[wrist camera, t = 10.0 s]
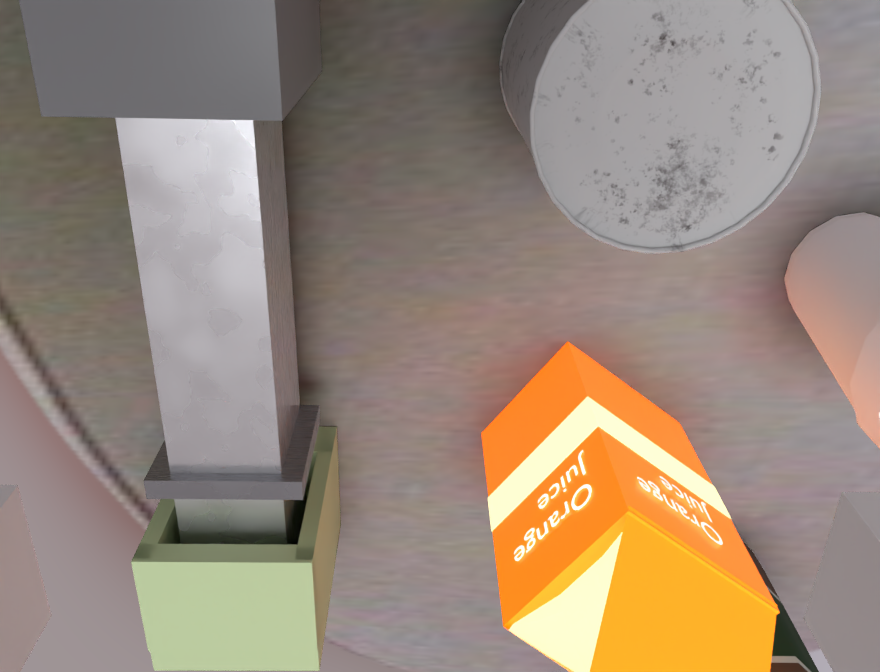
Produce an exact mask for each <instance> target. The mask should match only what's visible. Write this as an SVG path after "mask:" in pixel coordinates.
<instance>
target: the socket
mask: <svg viewBox="0 0 880 672" xmlns="http://www.w3.org/2000/svg"><path fill="white" fill-rule="evenodd" d="M305 491H306V508H305V513H304V517H303V522H302V527H301V532H300V536H299V541H298V545H282V544H181V540H180V533H179V527H178V520H177V514H176V507H175V501H174V499H161V500H160V502H159V504H158V506H157V509H156V511H155V513H154V515H153V517H152V519H151V521H150V523H149V525H148V528H147V530H146V532H145V534H144V536H143V538H142V540H141V543H140V544H139V546H138V549H137V551H136V553H135V555H134V557H133V559H132V561H131V563H132V569H133V574H134V579H135V584H136V589H137V594H138V600H139V605H140V610H141V616H142V620H143V626H144V631H145V636H146V642H147V647H148V651H150V652H151V658H152V663H153V668H154V670H167V671H168V670H169V671H172V670H178V671H181V670H182V671H185V670H187V671H190V670H191V671H194V670H195V671H206V670H207V671H319V670H320V663H321V656H322V649H323V642H324V636H325V629H326V622H327V615H328V608H329V601H330V594H331V588H332V581H333V574H334V567H335V560H336V553H337V546H338V539H339V533H340V526H341V517H340V493H339V469H338V444H337V427H319V429H318V433H317V438H316V443H315V447H314V452H313V456H312V461H311V465H310V470H309V474H308V479H307V483H306V488H305Z"/></svg>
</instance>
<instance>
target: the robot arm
mask: <svg viewBox="0 0 880 672" xmlns="http://www.w3.org/2000/svg"><path fill="white" fill-rule="evenodd" d="M50 617H51V612H50V608H49V604H48V600H47V596H46V592H45V589H44V585H43V581H42V577H41V573H40V569H39V565H38V562H37V557H36V554H35V550H34V546H33V542H32V538H31V534H30V530H29V527H28V523H27V519H26V515H25V511H24V507H23V503H22V499H21V496H20V492H19V488H18V485H0V672H20V671H21V669H22V667H23V666H24V664H25V662H26V660H27V659H28V657H29V655H30V653H31V651H32V650H33V648H34V646H35V644H36V642H37V641H38V639H39V637H40V635H41V633H42V632H43V630H44V628H45V626H46V624H47V623H48V621H49V619H50ZM804 620H805V622H806V624H807V625H808V627H809V629H810V631H811V632H812V634H813V636H814V638H815V640H816V641H817V643H818V645H819V647H820V649H821V650H822V652H823V654H824V656H825V658H826V659H827V661H828V663H829V665H830V666H831V668H832V670H833V672H880V492H842V493H841V497H840V500H839V503H838V506H837V510H836V513H835V516H834V520H833V523H832V526H831V530H830V533H829V536H828V540H827V543H826V546H825V550H824V553H823V556H822V560H821V563H820V566H819V570H818V573H817V576H816V580H815V583H814V586H813V590H812V593H811V596H810V600H809V603H808V606H807V610H806V613H805V616H804Z"/></svg>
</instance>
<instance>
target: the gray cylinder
mask: <svg viewBox="0 0 880 672" xmlns="http://www.w3.org/2000/svg"><path fill="white" fill-rule="evenodd" d="M499 69H500V87H501V91H502V95H503V98H504V102H505V106H506V109H507V111H508V113H509V115H510V117H511V119H512V120H513V122H514V124H515V126H516V128H517V129H518V131H519V132H520V133H521V135H522V137H523V139H524V141H525V143H526V145H527V147H528V149H529V151H530V153H531V155H532V157H533V159H534V162H535V166H536V169H537V173H538V176H539V178H540V180H541V181H542V183H543V185H544V187H545V189H546V191H547V193H548V195H549V196H550V198H551V200H552V202H553V203H554V204H555V205H556V206H557V208H558V209H559V210H560V211H561V212H562V213H563V214H564V215H565V216H566V218H567V219H568V220H569V221H570V222H571V223H572V224H573V225H575V226H576V227H578V228H579V229H581V230H582V231H584V232H585V233H587V234H588V235H589V236H591V237H592V238H594V239H595V240H598V241H600V242H603V243H606V244H608V245H611V246H613V247H616V248H619V249H621V250H626V251H633V252H641V253H648V254H659V253H672V252H683V251H687V250H690V249H694V248H697V247H701V246H704V245H708V244H711V243H714V242H716V241H718V240H719V239H721V238H723V237H725V236H727V235H729V234H731V233H733V232H735V231H737V230H739V229H741V228H742V227H744V226H745V225H746V224H747V223H749V222H750V221H751V220H752V219H754V218H755V217H756V216H758V215H759V214H760V213H761V212H763V211H764V210H765V209H767V208H768V206H769V205H770V204H771V203H772V202H773V201H774V200H775V198H776V197H777V196H778V195H779V194H780V193H781V192H782V191H783V189H784V188H785V187H786V186H787V185H788V184H789V182H790V181H791V179H792V177H793V175H794V174H795V172H796V170H797V169H798V167H799V165H800V164H801V162H802V160H803V159H804V157H805V155H806V153H807V150H808V147H809V144H810V141H811V139H812V136H813V133H814V130H815V127H816V124H817V120H818V112H819V104H820V97H821V80H820V69H819V58H818V54H817V51H816V48H815V45H814V42H813V39H812V37H811V34H810V31H809V28H808V25H807V24H806V22H805V21H804V19H803V18H802V16H801V15H800V13H799V12H798V10H797V9H796V7H795V6H794V4H793V3H792V1H791V0H522V2H521V3H520V5H519V6H518V8H517V9H516V11H515V12H514V14H513V15H512V18H511V20H510V23H509V25H508V28H507V30H506V33H505V35H504V38H503V43H502V49H501V55H500V61H499Z"/></svg>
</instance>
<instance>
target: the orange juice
mask: <svg viewBox="0 0 880 672" xmlns="http://www.w3.org/2000/svg"><path fill="white" fill-rule="evenodd" d="M481 435H482V444H483V453H484V461H485V470H486V479H487V487H488V496H489V497H488V506H489V515H490V524H491V531H492V532H493V540H494V549H495V557H496V566H497V575H498V583H499V592H500V601H501V610H502V618H503V626H504V628H505V627H506V628H508V629H509V631H510V632H512V633H513V634H515V635H516V636H518V637H519V638H521V639H522V640H523V641H525V642H526V643H528V644H529V645H531V646H532V647H534V648H535V649H537V650H538V651H540V652H541V653H543V654H544V655H546V656H547V657H549V658H550V659H552V660H553V661H555V662H556V663H558V664H559V665H561V666H562V667H564V668H565V669H567V670H568V671H570V672H770V667H771V658H772V649H773V640H774V631H775V622H776V615H777V614H778V613H780V612H779V610H778V608H777V604H775V602H774V600H773V598H772V596H771V595H770V593H769V591H768V589H767V587H766V585H765V583H764V581H763V579H762V578H761V576H760V574H759V572H758V570H757V568H756V566H755V564H754V562H753V561H752V559H751V557H750V555H749V553H748V551H747V549H746V547H745V545H744V544H743V542H742V540H741V538H740V536H739V534H738V532H737V530H736V529H735V527H734V525H733V523H732V521H731V517H730V515H729V513H728V511H727V509H726V507H725V506H724V504H723V502H722V500H721V498H720V496H719V494H718V492H717V491H716V489H715V487H714V486H713V485H712V483H711V481H710V479H709V478H708V476H707V474H706V472H705V470H704V468H703V466H702V464H701V462H700V461H699V459H698V457H697V455H696V453H695V451H694V449H693V447H692V445H691V444H690V442H689V440H688V438H687V436H686V434H685V432H684V430H683V428H682V427H681V425H680V423H679V422H678V421H676V420H675V419H673V418H672V417H671V416H669V415H668V414H667V413H665V412H664V411H662V410H661V409H660V408H658V407H657V406H656V405H654V404H653V403H652V402H650V401H649V400H647V399H646V398H645V397H643V396H642V395H641V394H639V393H638V392H636V391H635V390H634V389H632V388H631V387H630V386H628V385H627V384H625V383H624V382H623V381H621V380H620V379H619V378H617V377H616V376H615V375H613V374H612V373H610V372H609V371H608V370H606V369H605V368H604V367H602V366H601V365H599V364H598V363H597V362H595V361H594V360H593V359H591V358H590V357H589V356H587V355H586V354H584V353H583V352H582V351H580V350H579V349H578V348H576V347H575V346H573V345H572V344H571V343H569V342H567V343H566V344H565V345H564V346H563V347H562V348H561V349H560V350H559V351H558V352H557V353H556V354H555V355H554V356H553V358H552V359H551V360H550V361H549V362H548V363H547V364H546V365H545V366H544V367H543V368H542V369H541V370H540V371H539V372H538V373H537V375H536V376H535V377H534V378H533V379H532V380H531V381H530V382H529V383H528V384H527V385H526V386H525V387H524V388H523V389H522V390H521V392H520V393H519V394H518V395H517V396H516V397H515V398H514V399H513V400H512V401H511V402H510V403H509V404H508V405H507V406H506V408H505V409H504V410H503V411H502V412H501V413H500V414H499V415H498V416H497V417H496V418H495V419H494V420H493V421H492V422H491V423H490V425H489V426H488V427H487V428H486V429H485V430H484V431H483V432H482V433H481ZM508 629H507V630H508Z"/></svg>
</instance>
